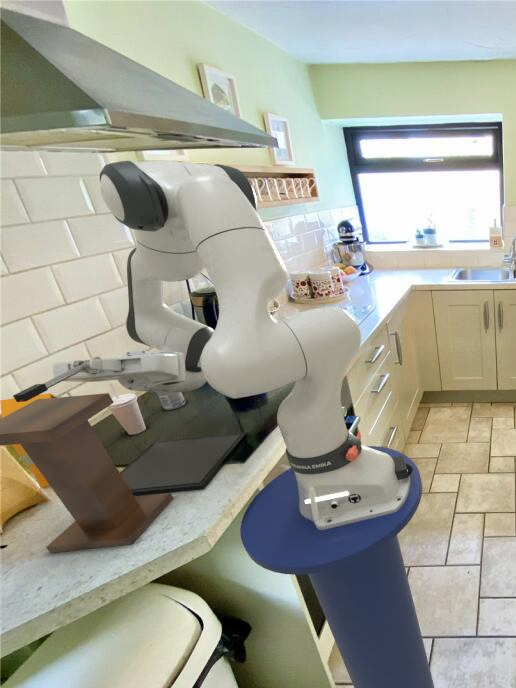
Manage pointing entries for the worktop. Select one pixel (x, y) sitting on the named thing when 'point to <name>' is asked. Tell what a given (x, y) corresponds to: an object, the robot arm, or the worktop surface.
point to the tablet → (180, 464)
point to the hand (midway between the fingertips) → (81, 364)
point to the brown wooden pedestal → (81, 472)
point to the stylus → (47, 384)
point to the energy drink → (171, 399)
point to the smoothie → (127, 412)
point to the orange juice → (6, 409)
